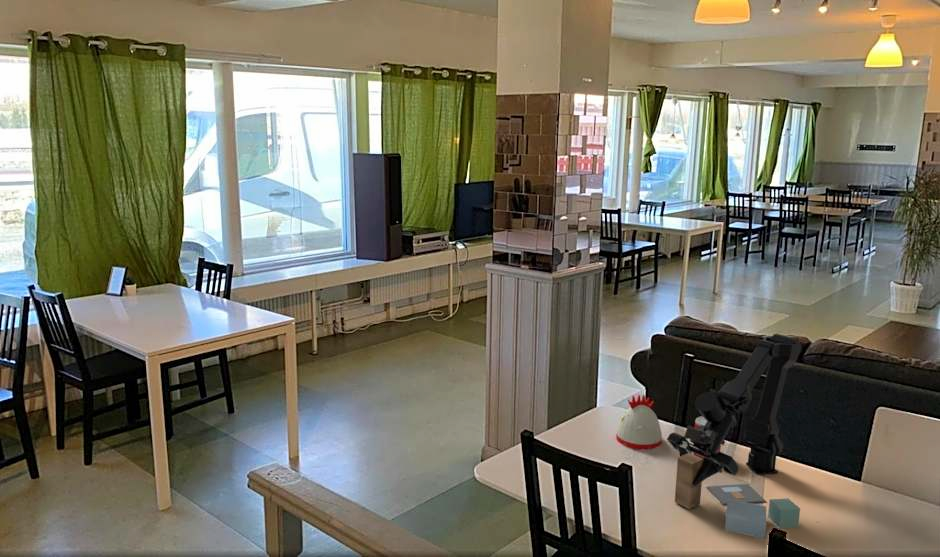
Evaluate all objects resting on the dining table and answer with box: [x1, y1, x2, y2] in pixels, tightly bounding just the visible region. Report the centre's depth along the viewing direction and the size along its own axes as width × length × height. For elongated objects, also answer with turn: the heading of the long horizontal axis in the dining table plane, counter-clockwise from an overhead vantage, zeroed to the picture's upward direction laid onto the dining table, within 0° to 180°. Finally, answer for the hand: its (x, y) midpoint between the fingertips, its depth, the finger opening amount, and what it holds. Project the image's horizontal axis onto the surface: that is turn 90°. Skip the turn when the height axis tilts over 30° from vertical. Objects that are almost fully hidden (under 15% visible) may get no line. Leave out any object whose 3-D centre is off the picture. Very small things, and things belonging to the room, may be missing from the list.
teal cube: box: [767, 497, 801, 529], centre depth 174 cm, size 5×5×5 cm
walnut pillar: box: [674, 453, 704, 510], centre depth 181 cm, size 4×4×12 cm
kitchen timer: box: [615, 393, 663, 451], centre depth 219 cm, size 14×14×15 cm
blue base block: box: [724, 499, 767, 539], centre depth 172 cm, size 9×9×4 cm
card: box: [706, 483, 767, 506], centre depth 187 cm, size 12×9×1 cm
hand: (685, 480), depth 180 cm, fingers closed on walnut pillar, 4 cm apart
